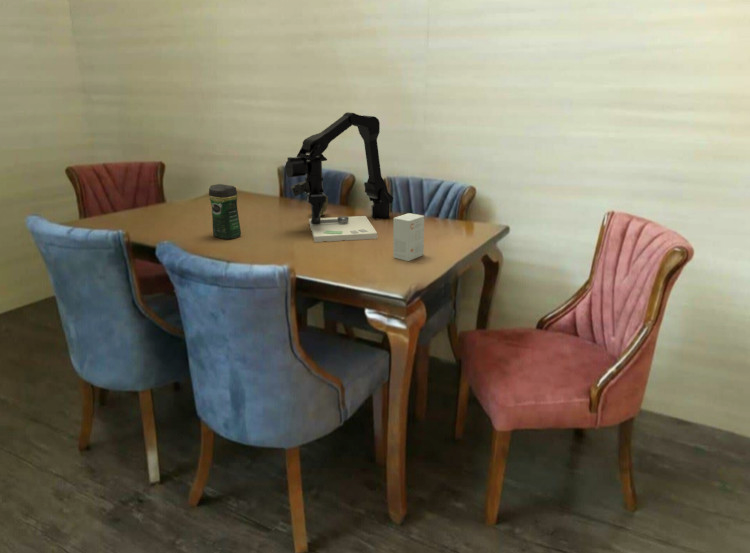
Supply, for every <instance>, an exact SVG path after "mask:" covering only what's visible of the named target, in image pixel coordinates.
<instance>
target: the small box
mask: <svg viewBox="0 0 750 553" xmlns="http://www.w3.org/2000/svg"><path fill="white" fill-rule="evenodd" d="M392 225H393V232H392V233H393V235H392V236H393V239H392V241H393V242H392V244H393V245H392V246H393V256H392V257H393V259H398V260H401V261H406V262H410V261H413V260H414V259H418V258H420V257H422V256H424V252H425V251H424V241H425V240H424V239H425V215H423V214H422V215H421V214H418V213H417V214H416V213H410V212H407V213H405V214H402V215H398V216H395V217H393V224H392Z"/></svg>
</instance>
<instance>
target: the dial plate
mask: <svg viewBox="0 0 750 553" xmlns="http://www.w3.org/2000/svg"><path fill="white" fill-rule="evenodd" d="M338 217H339V216H338ZM338 217H337V216H335V217H320V220H329V219H338ZM348 217H349V222H348V223H320V224H311V220H312V218H308V224H310V225H309V228H310V231H312V232H311V234H312V238H313V242H314V243H323V241H327V242H341V241H342V240H345V241H359V240H362V241H363V240H376V239H377V240H378V232H377V231H376V229H375V227H374V226H373V225H372V223H371V222H370V221H369V219H368V217H367V216H366V215H358V216H357V215H356V216H355V215H354V216H348Z"/></svg>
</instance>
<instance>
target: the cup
mask: <svg viewBox="0 0 750 553" xmlns="http://www.w3.org/2000/svg"><path fill="white" fill-rule="evenodd" d="M325 196H326V202H324V204H323V206H322V209H321V211H320V218H322V217H324V215H325V212H326V211H327V209H328V203H329V196H327V195H326V194H325Z"/></svg>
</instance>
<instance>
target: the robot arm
mask: <svg viewBox="0 0 750 553" xmlns="http://www.w3.org/2000/svg"><path fill="white" fill-rule="evenodd" d="M352 126H353V127H357V130H358V134H359V135H360V137H361V138H362V140H363V142H364V144H363V145H364V153H365V159H366V166H367V174H368V178H367V181H366V182H363V185H364V193H366V196H368V198H369V201H370V202H372V205H371V206H370V209H371V210H370V211H371V215H370V216H371V217H372V218H373V219H374V220H383V219H384V220H387V219H391V216H390V204H393V200H394V197H393V196H392V195H391V194H390V192H389V190H388V187H387V183H386V182H385V180H384V178H383V176H382V171H381V163H380V155H379V147H378V137H379V134H380V126H381V125H380V120H379V118H378V117H377V116H372V115H362V114H361V115H360V114H357V113H355V112H347V111H346V112H345V113H343V115H342V116H341V117H339V118H337V120H336V121H335V120H334V122H333V123H331V124H330V125H329V126H328V127H326V128H325V129H323V130H322V131H320V132H319V133H316V134H312V135H310V136H308V137H306V138H304V140H303V141H302V145H301V148H300V149H299V151H298V153H297V155H296V156H295V157H293V156H292V157H291V156H289V157H287V161H285V164H284V165H285V166H284V172H285V175H286V176H287V177H288V178H297V177H304V176H305V177H304V180H303V181H300V182H298V183H296V184H293V185H290V189H291V191H292V194H293V196H294V197H297V196H299V195H302V194H304V193H305V195H306V199H307V203H309V204H310V206H311V205H312V207H313V212H314V216H315V218H318V216H319V214H320V211H321V209H322V206H323V204H324V202H326V197H327V195H326V194H325V193H324V186H323V184H324V183H323V182H324V177H323V162H326V161H328V158H327V157H325V156H324V154H323V153H324V152H325V151H326V150H327V149H328V148H329V145H330V143H331V142H332V141H333V140H335V139H336V138H337V137H338V136H340V135H341V134H343V133H344V132H345V131H348V129H349V128H350V127H352ZM325 195H326V196H325Z"/></svg>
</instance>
